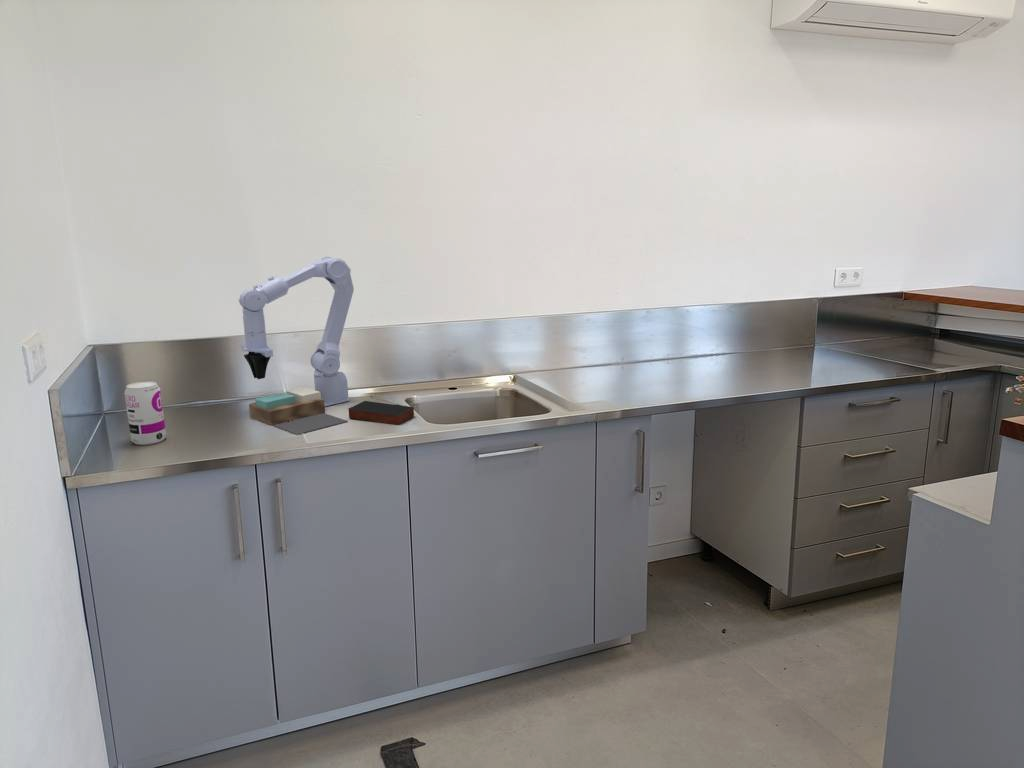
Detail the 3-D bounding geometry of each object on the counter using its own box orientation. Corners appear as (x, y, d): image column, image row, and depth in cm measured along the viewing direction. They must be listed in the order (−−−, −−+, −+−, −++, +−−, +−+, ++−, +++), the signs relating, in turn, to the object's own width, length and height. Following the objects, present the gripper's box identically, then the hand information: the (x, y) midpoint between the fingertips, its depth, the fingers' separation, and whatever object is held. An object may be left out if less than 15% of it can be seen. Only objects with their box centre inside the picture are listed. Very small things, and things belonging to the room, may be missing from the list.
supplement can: (171, 435, 193) (164, 380, 190) (158, 445, 185) (150, 388, 182) (140, 436, 193) (133, 381, 189) (125, 446, 185) (117, 389, 181)
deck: (302, 405, 221) (301, 392, 220) (324, 412, 213) (323, 399, 212) (250, 417, 209) (248, 403, 208) (271, 425, 201) (270, 411, 200)
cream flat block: (286, 397, 215) (285, 390, 214) (304, 393, 219) (303, 386, 219) (302, 402, 209) (302, 395, 208) (321, 398, 213) (320, 391, 213)
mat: (323, 413, 212) (323, 413, 212) (347, 421, 204) (347, 420, 204) (273, 426, 200) (273, 425, 200) (296, 435, 192) (296, 434, 192)
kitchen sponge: (399, 426, 201) (425, 411, 214) (398, 415, 200) (425, 401, 213) (342, 418, 207) (371, 403, 221) (341, 408, 206) (370, 394, 220)
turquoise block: (284, 399, 213) (283, 392, 212) (295, 402, 209) (294, 396, 208) (255, 405, 206) (255, 398, 206) (266, 409, 202) (265, 402, 202)
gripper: (229, 330, 210) (234, 376, 213) (254, 336, 200) (259, 384, 204) (252, 327, 215) (256, 372, 218) (277, 333, 205) (282, 379, 209)
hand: (259, 378), depth 211 cm, fingers closed
